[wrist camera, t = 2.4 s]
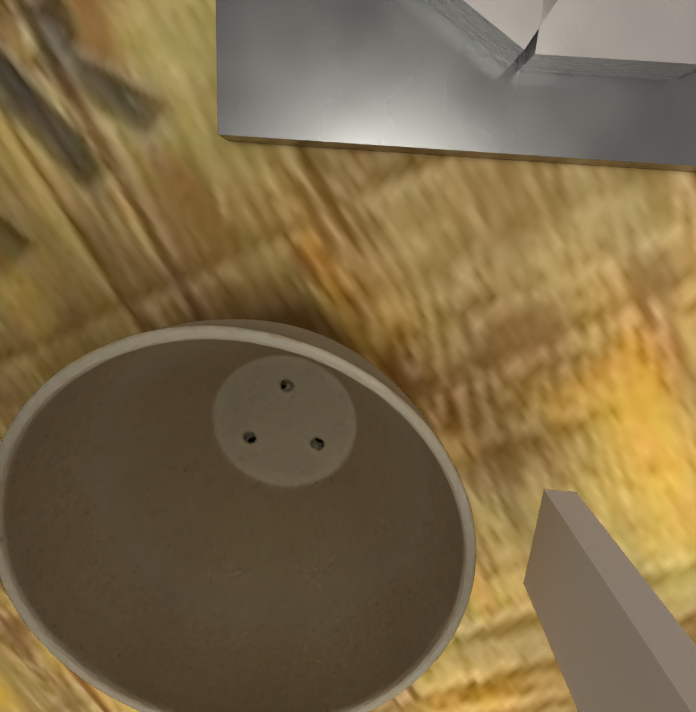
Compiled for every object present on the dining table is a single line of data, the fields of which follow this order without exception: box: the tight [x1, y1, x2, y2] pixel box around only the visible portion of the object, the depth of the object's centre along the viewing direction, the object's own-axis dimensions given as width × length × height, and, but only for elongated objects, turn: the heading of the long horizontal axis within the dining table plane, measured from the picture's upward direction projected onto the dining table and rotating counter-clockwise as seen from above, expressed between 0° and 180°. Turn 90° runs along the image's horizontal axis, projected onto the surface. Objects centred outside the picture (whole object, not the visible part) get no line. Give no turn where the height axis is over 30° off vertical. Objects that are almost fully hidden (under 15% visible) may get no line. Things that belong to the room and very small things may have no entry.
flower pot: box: [0, 319, 476, 712], centre depth 12 cm, size 10×10×7 cm
